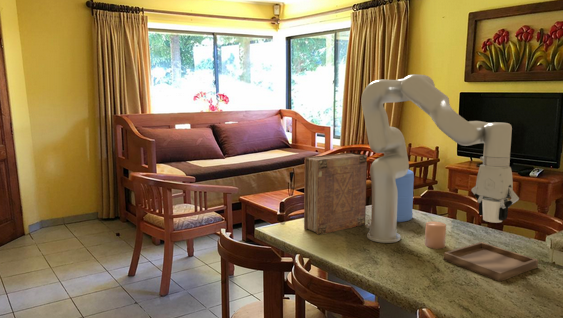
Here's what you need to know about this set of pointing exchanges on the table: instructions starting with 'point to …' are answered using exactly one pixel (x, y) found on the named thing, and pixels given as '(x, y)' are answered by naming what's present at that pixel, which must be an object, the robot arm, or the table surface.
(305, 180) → the book
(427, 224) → the peach rounded capsule
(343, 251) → the table surface
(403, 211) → the water jug
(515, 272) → the walnut tray
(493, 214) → the white tapered cup
